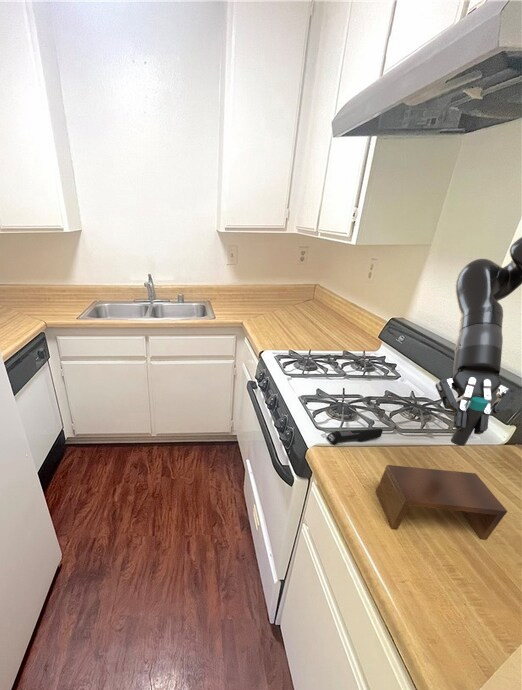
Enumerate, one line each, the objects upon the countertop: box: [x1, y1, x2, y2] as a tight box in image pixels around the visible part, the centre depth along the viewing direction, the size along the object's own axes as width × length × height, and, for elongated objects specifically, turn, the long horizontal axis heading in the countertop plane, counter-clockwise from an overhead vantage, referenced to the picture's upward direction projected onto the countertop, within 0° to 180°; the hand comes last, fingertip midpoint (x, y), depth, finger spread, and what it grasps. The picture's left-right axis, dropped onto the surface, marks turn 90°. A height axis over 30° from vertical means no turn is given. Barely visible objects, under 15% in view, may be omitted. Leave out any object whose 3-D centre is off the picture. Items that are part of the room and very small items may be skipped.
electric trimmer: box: [326, 428, 383, 445], centre depth 96 cm, size 4×16×3 cm, turn 100°
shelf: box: [375, 464, 508, 541], centre depth 71 cm, size 18×11×8 cm, turn 82°
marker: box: [450, 397, 489, 447], centre depth 69 cm, size 3×3×10 cm
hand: (469, 431), depth 68 cm, fingers closed on marker, 2 cm apart
